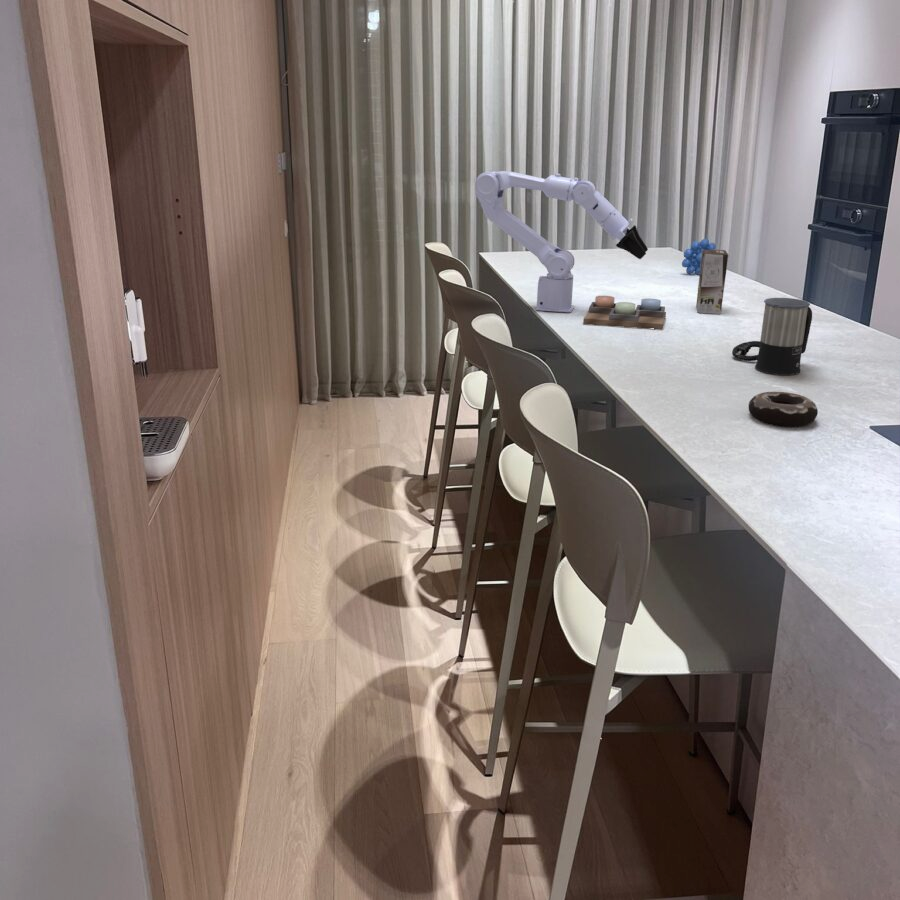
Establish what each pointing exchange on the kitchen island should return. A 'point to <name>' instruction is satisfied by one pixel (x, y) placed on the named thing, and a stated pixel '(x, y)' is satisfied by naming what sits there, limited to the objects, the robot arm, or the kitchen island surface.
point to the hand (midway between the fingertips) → (644, 254)
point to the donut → (783, 409)
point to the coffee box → (711, 281)
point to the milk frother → (780, 337)
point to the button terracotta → (604, 301)
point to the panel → (625, 317)
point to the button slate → (650, 304)
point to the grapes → (696, 255)
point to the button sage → (625, 308)
